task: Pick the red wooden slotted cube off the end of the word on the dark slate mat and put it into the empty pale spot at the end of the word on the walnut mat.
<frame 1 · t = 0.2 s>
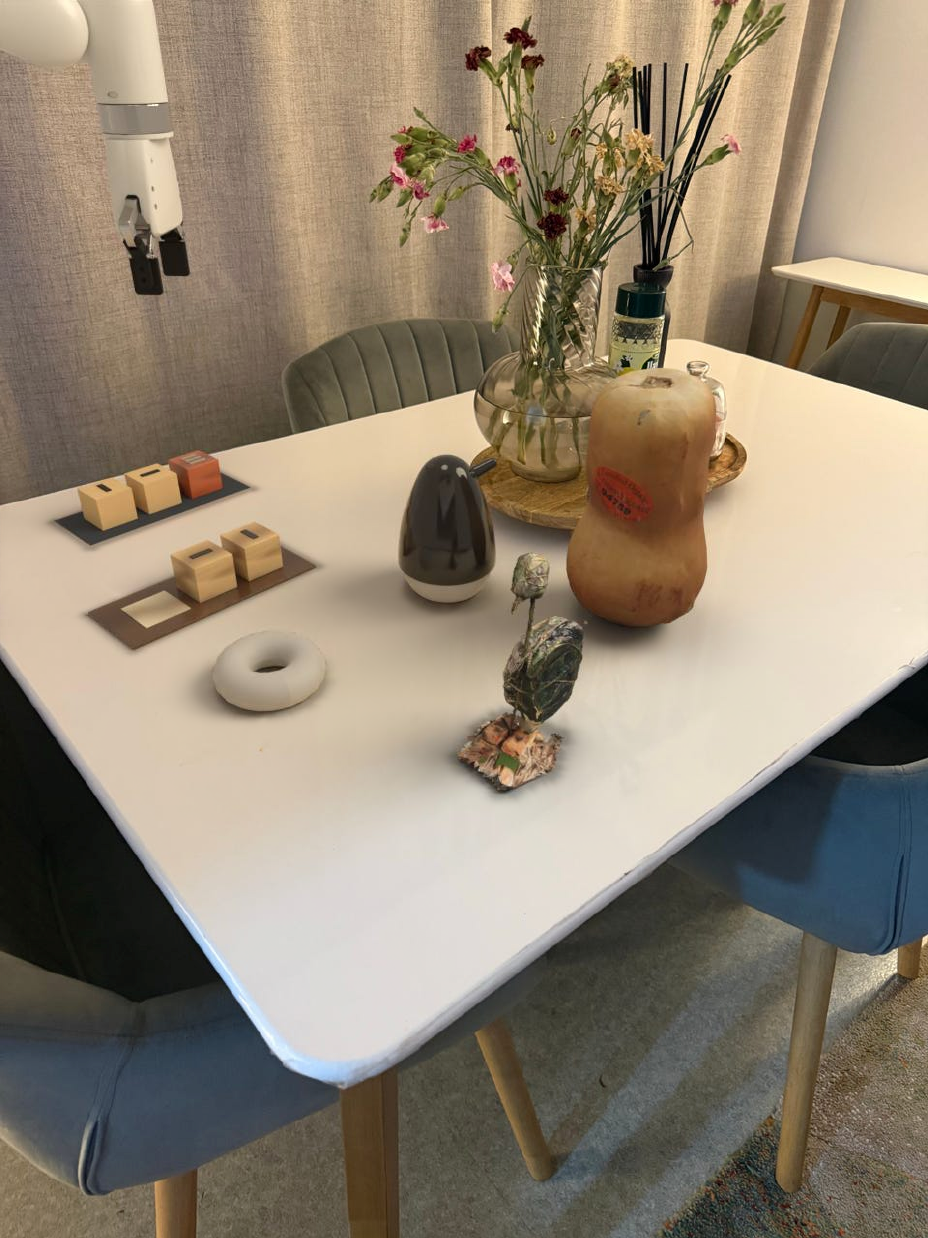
hand: (164, 284, 107), 24 cm above the table, tool pointing down, fingers open, 9 cm apart
butternut squash: (628, 618, 91), on the table
plant with pod: (521, 750, 74), on the table
red wooden slotted cube: (198, 488, 114), point 1 cm above the table, touching slate word
pump dispenser: (448, 591, 95), on the table
slate word: (157, 507, 111), on the table
donut: (272, 686, 81), on the table
walnut word: (207, 592, 94), on the table
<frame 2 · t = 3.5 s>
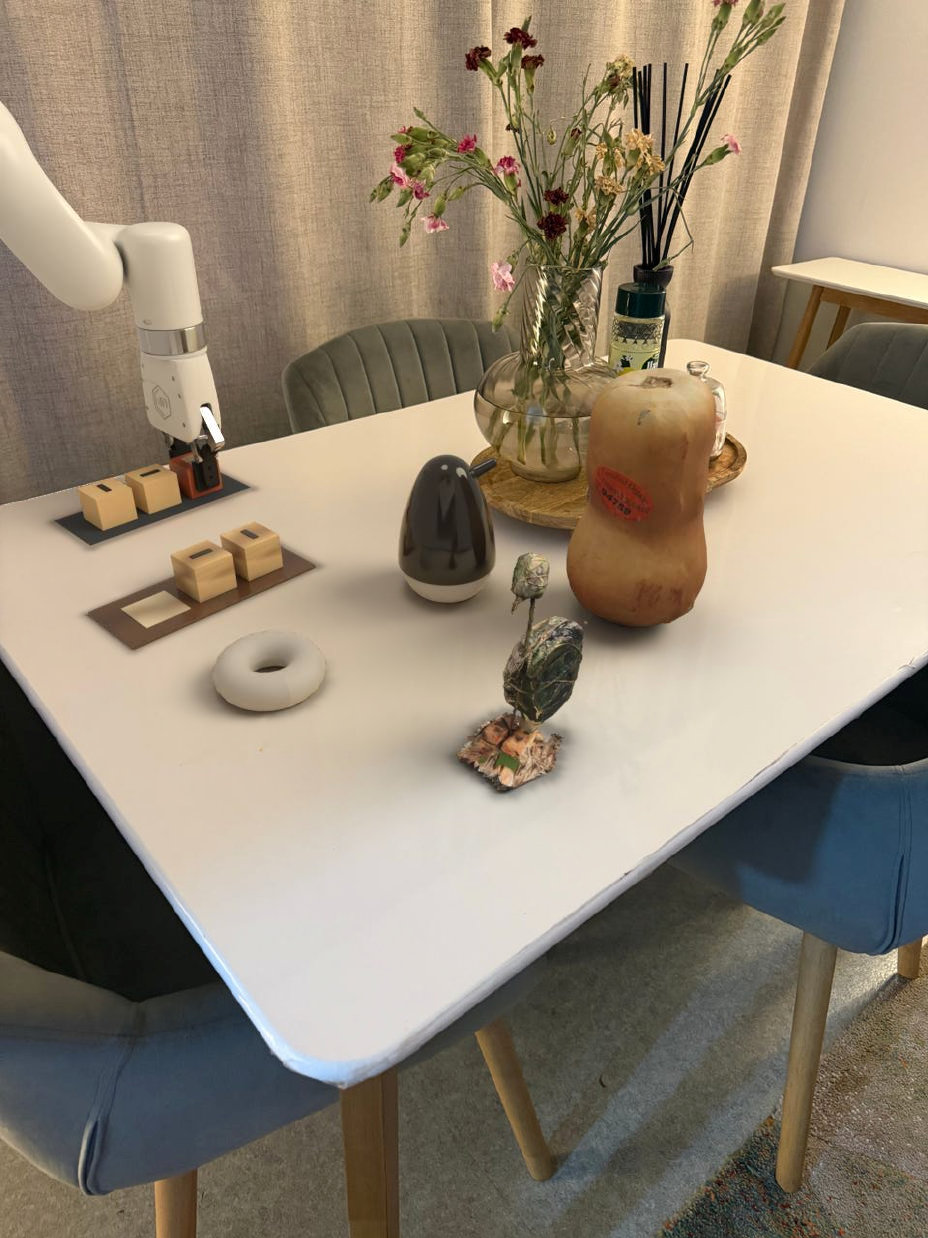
hand: (196, 480, 113), 2 cm above the table, tool pointing down, fingers closed on red wooden slotted cube, 4 cm apart
red wooden slotted cube: (198, 488, 114), point 1 cm above the table, touching gripper, slate word
everything else where it was.
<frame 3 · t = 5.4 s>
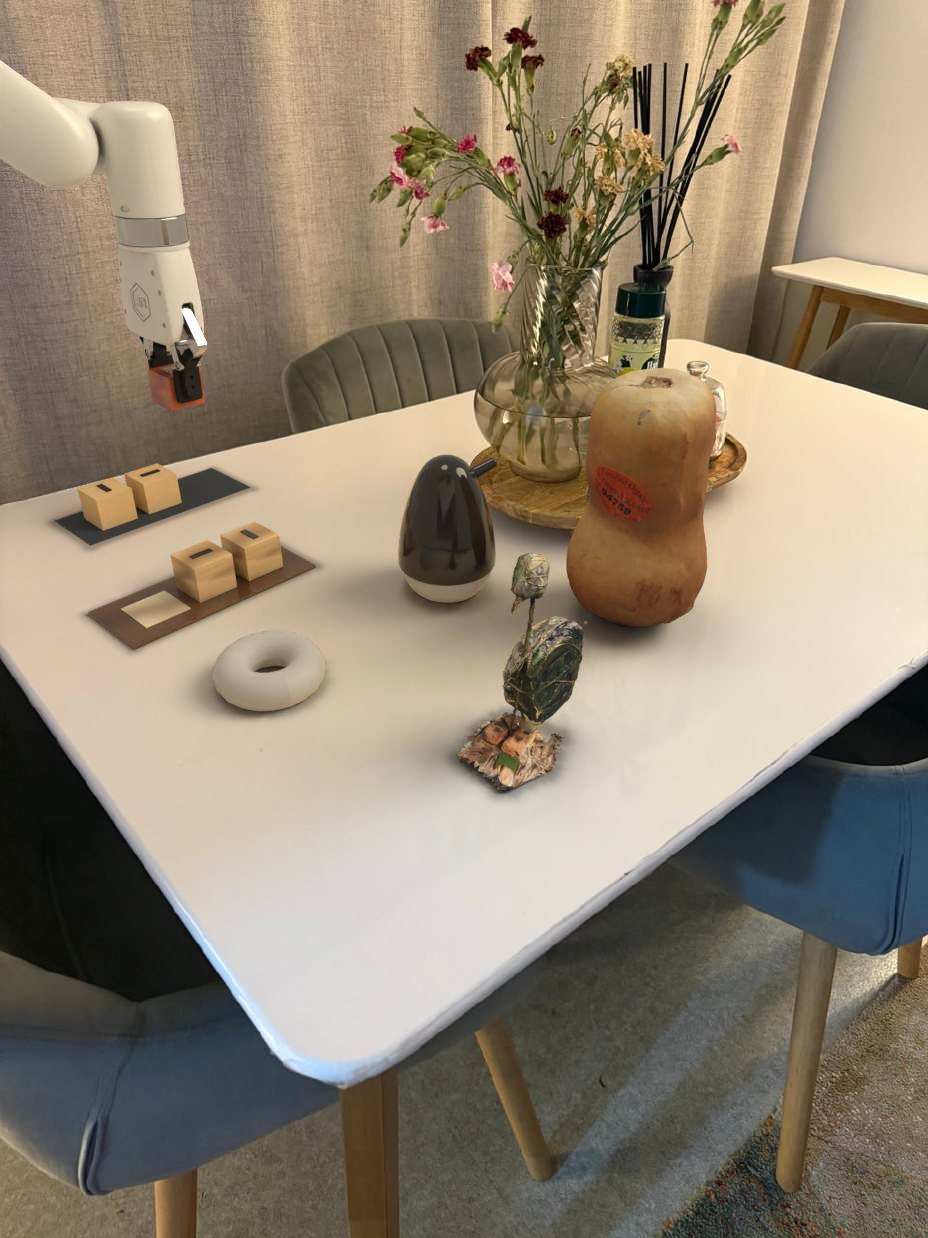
hand: (177, 393, 107), 13 cm above the table, tool pointing down, fingers closed on red wooden slotted cube, 4 cm apart
red wooden slotted cube: (179, 402, 107), point 12 cm above the table, touching gripper
everything else where it was.
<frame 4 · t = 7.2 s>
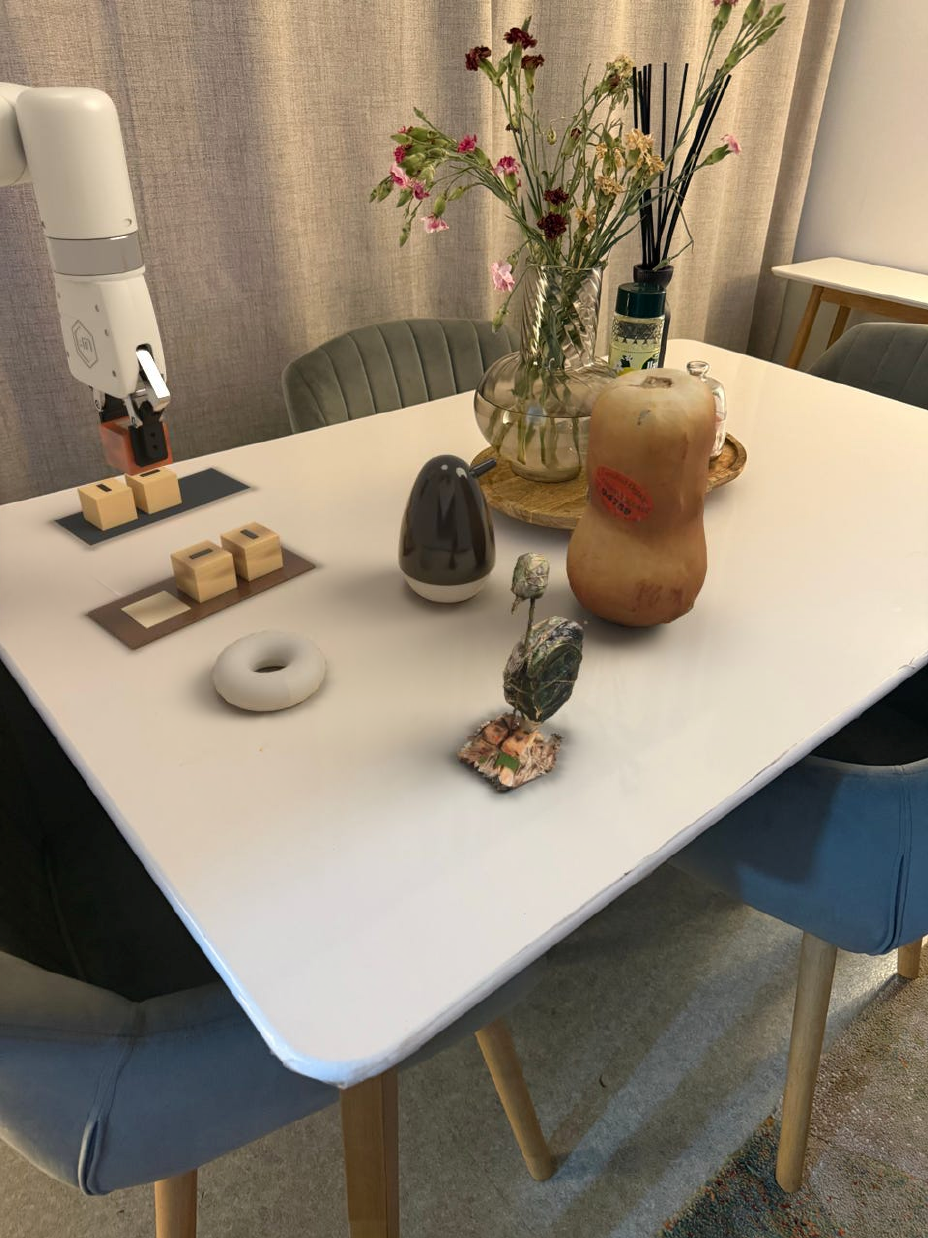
hand: (137, 453, 86), 15 cm above the table, tool pointing down, fingers closed on red wooden slotted cube, 4 cm apart
red wooden slotted cube: (140, 463, 86), point 14 cm above the table, touching gripper
everything else where it was.
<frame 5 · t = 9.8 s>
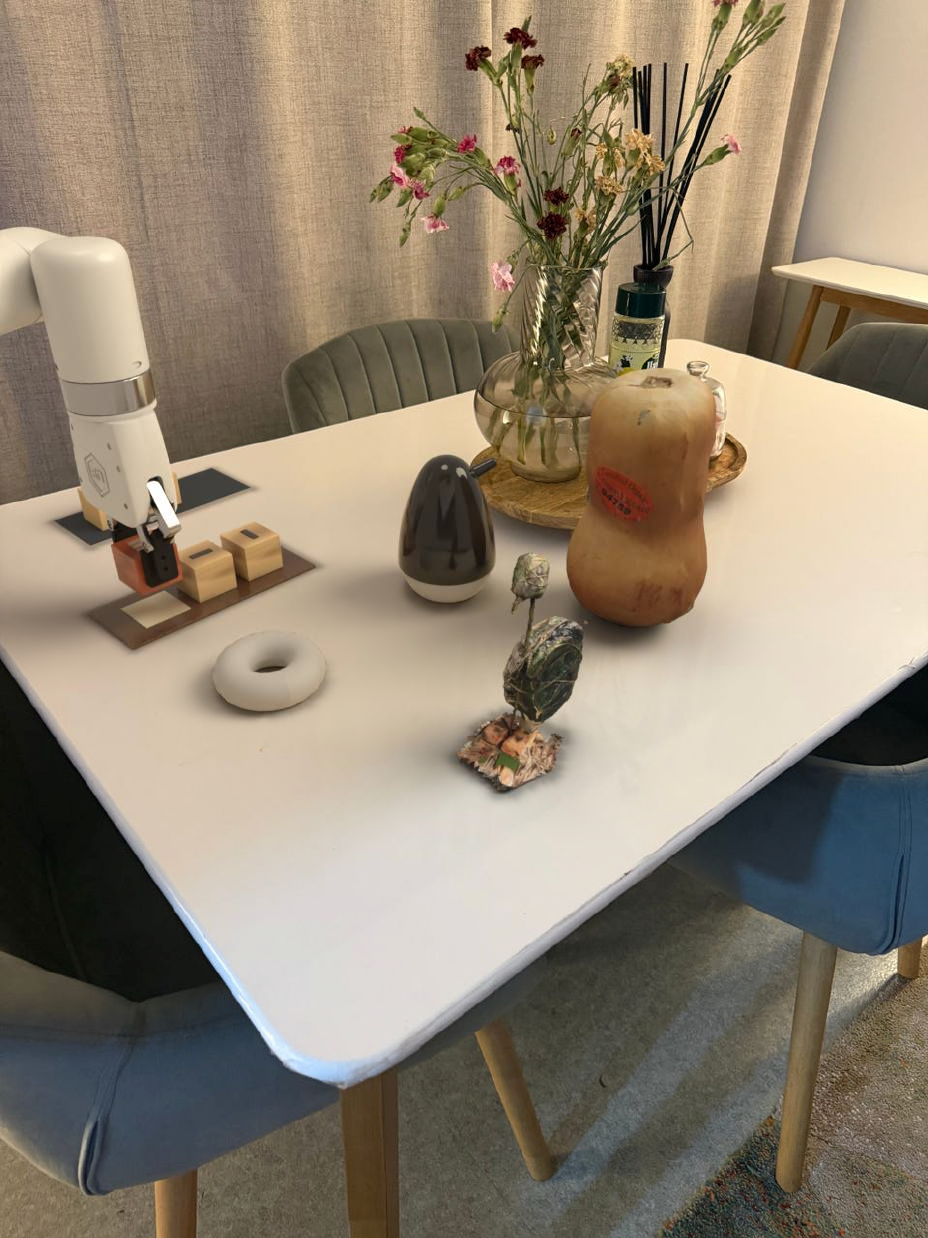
hand: (148, 570, 87), 5 cm above the table, tool pointing down, fingers closed on red wooden slotted cube, 4 cm apart
red wooden slotted cube: (151, 579, 88), point 4 cm above the table, touching gripper
everything else where it was.
when the fingers open (2 cm above the table, at t = 11.1 s): red wooden slotted cube stays where it is, resting on walnut word.
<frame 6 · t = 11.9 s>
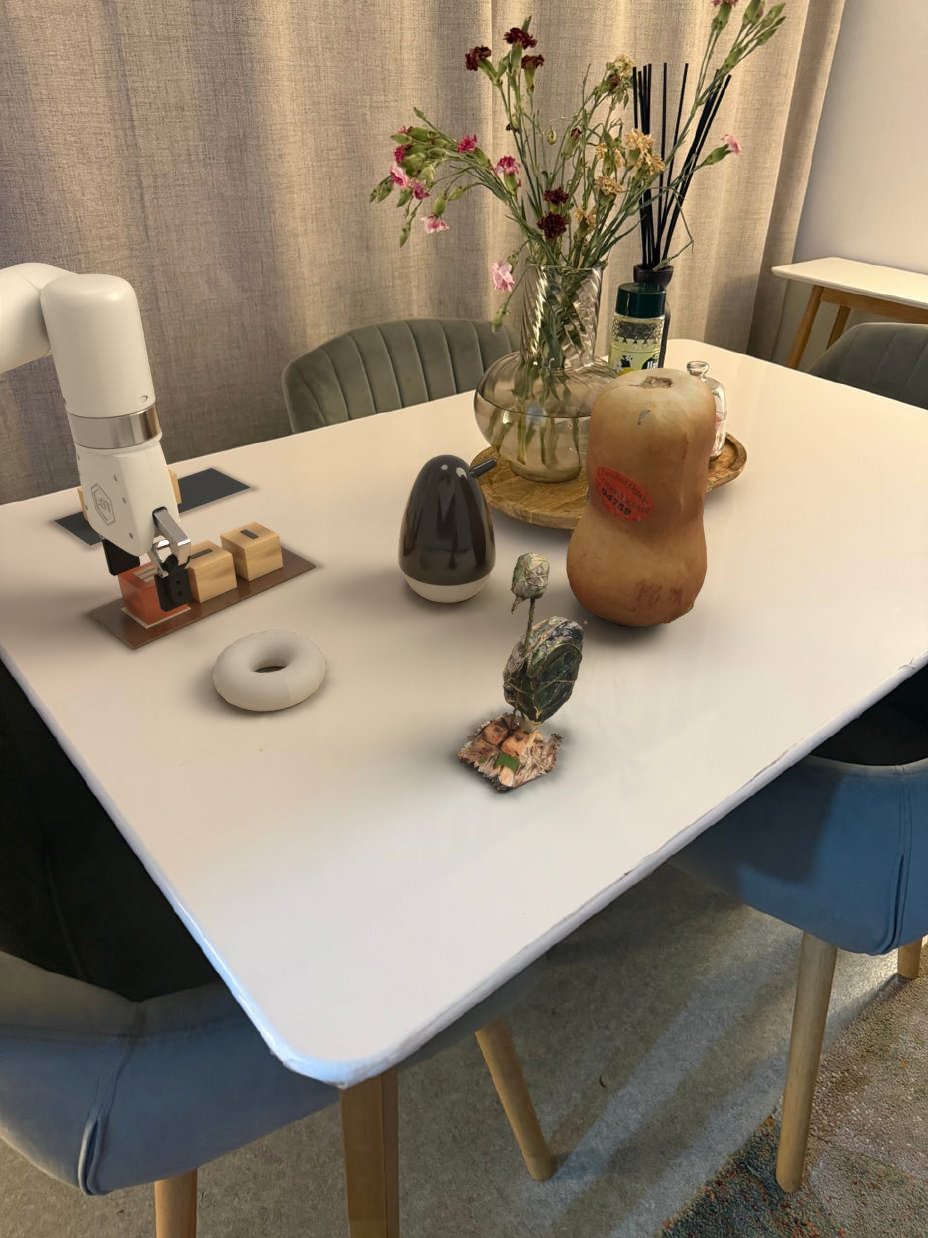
hand: (150, 587, 88), 3 cm above the table, tool pointing down, fingers open, 9 cm apart
red wooden slotted cube: (156, 608, 90), point 1 cm above the table, touching walnut word
everything else where it was.
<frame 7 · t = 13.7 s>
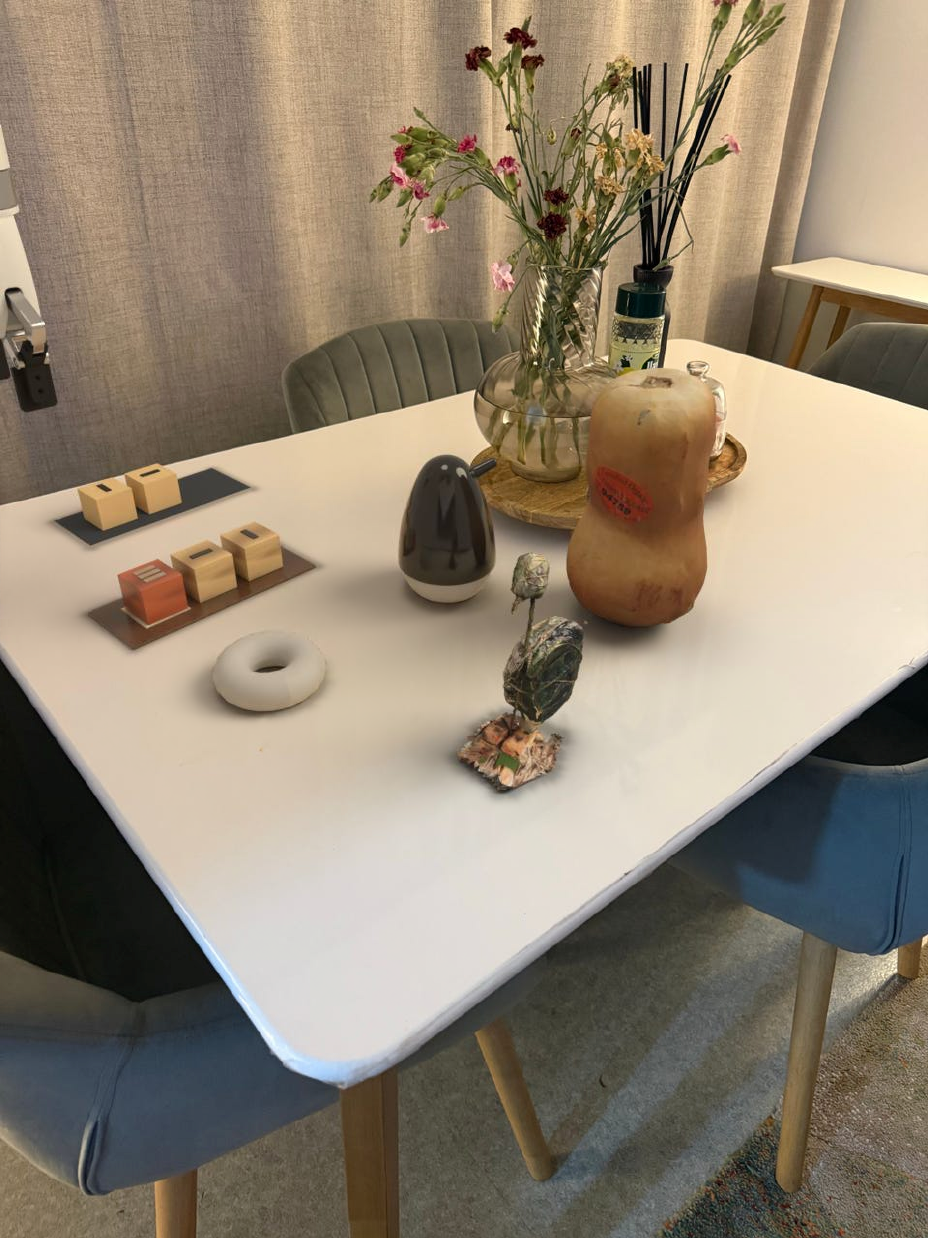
hand: (16, 394, 83), 21 cm above the table, tool pointing down, fingers open, 9 cm apart
nothing on the table moved.
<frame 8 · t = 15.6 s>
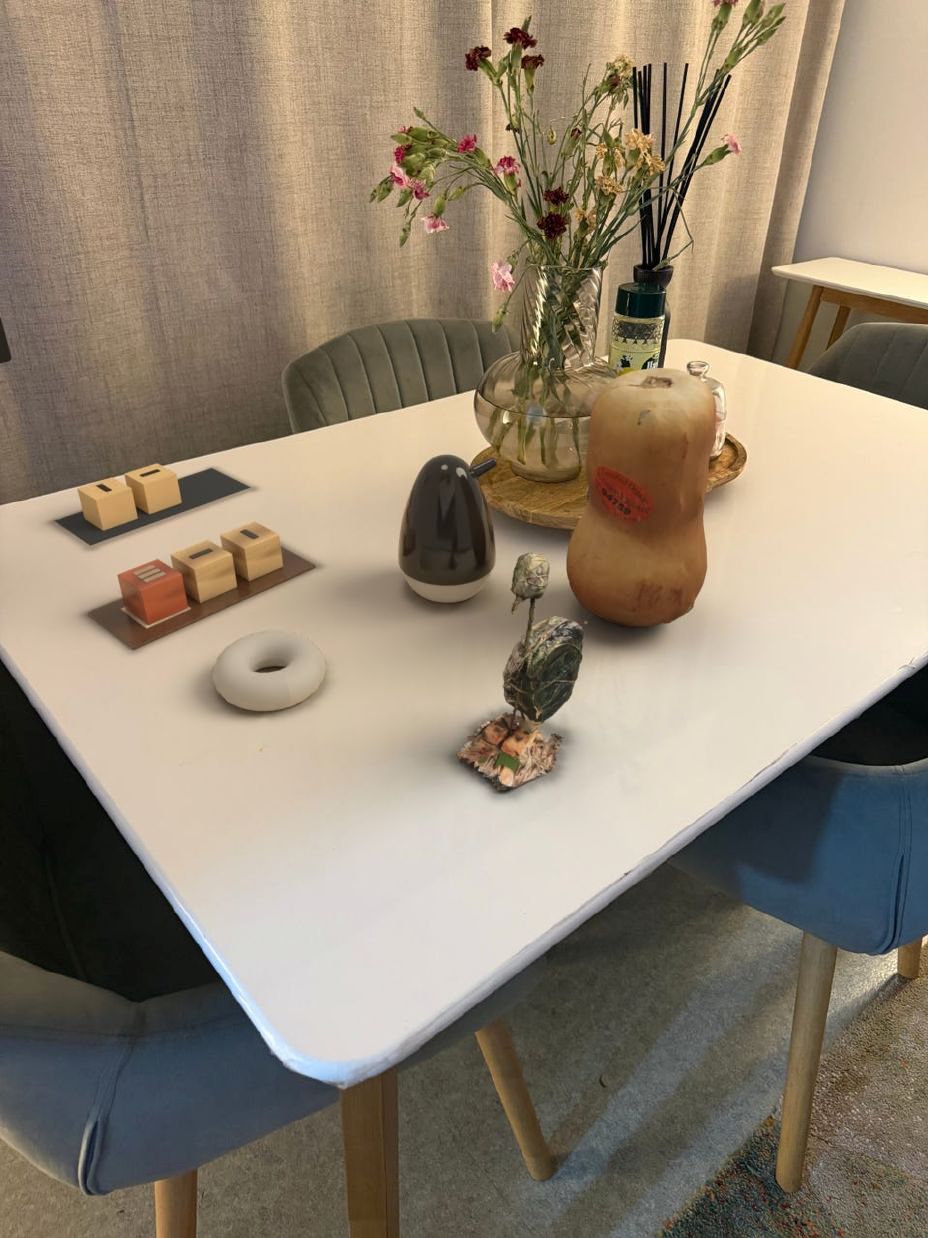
nothing on the table moved.
at the end: red wooden slotted cube 0.1 cm from the target spot on the walnut word, point 0.7 cm above the walnut word's base; red wooden slotted cube tilted 0°; the gripper is holding nothing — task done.
